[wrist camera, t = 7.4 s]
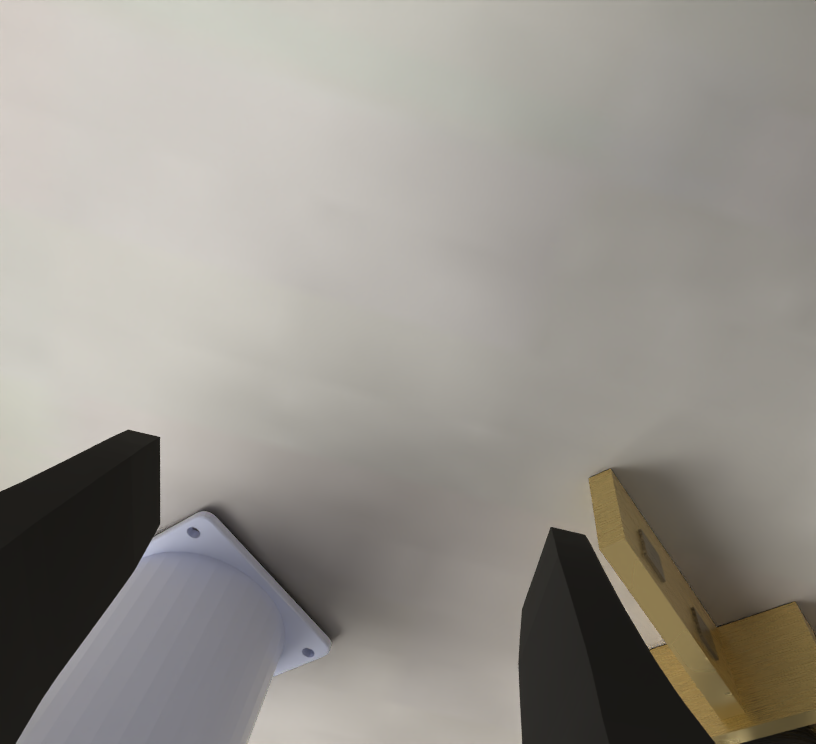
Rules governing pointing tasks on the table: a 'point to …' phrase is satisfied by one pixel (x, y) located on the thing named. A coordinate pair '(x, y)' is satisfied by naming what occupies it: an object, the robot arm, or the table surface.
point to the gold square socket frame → (710, 635)
